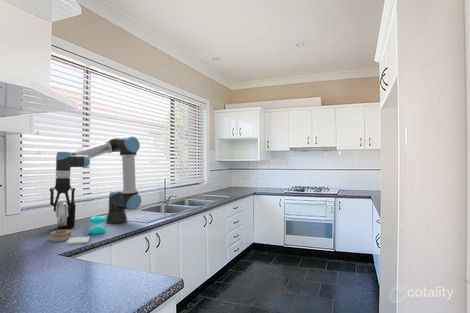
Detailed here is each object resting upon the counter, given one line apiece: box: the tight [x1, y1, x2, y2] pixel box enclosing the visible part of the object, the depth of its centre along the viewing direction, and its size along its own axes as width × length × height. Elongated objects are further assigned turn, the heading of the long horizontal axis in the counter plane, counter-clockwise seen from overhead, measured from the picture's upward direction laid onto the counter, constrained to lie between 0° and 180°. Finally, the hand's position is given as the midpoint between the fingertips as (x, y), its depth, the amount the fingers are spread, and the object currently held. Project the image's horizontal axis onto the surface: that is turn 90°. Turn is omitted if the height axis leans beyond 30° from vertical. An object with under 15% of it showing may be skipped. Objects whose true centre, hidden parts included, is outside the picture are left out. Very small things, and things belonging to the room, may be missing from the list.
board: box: [65, 236, 91, 246], centre depth 176 cm, size 11×11×1 cm
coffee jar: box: [56, 199, 77, 230], centre depth 208 cm, size 11×11×18 cm
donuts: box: [88, 215, 107, 235], centre depth 197 cm, size 10×10×10 cm
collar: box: [49, 229, 72, 242], centre depth 180 cm, size 10×10×4 cm
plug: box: [56, 203, 67, 227], centre depth 181 cm, size 5×5×13 cm
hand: (62, 216), depth 181 cm, fingers closed on plug, 5 cm apart
